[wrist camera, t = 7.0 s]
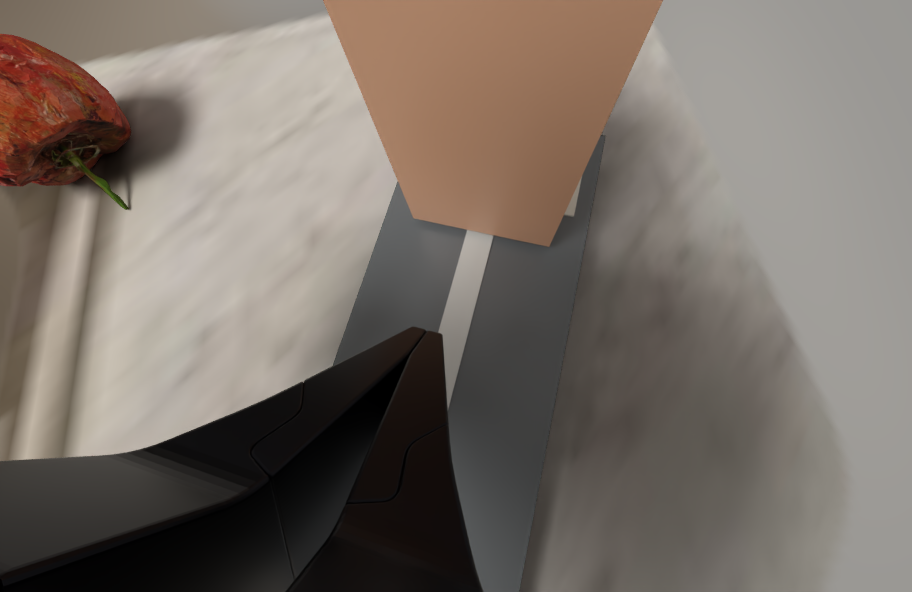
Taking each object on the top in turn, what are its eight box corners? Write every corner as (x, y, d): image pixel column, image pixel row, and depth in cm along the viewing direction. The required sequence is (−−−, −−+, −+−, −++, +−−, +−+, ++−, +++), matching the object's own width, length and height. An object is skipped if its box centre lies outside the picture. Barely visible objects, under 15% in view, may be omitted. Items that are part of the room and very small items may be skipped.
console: (494, 660, 13) (497, 711, 11) (281, 575, 14) (246, 607, 12) (592, 162, 18) (606, 133, 16) (430, 135, 19) (423, 105, 17)
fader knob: (549, 247, 14) (690, -59, 4) (413, 218, 15) (285, -90, 5) (566, 166, 15) (714, -232, 5) (438, 143, 16) (367, -234, 6)
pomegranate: (209, 176, 22) (73, 8, 19) (125, 179, 16) (-117, -84, 12) (118, 233, 23) (-34, 80, 19) (-3, 260, 16) (-277, 30, 12)
